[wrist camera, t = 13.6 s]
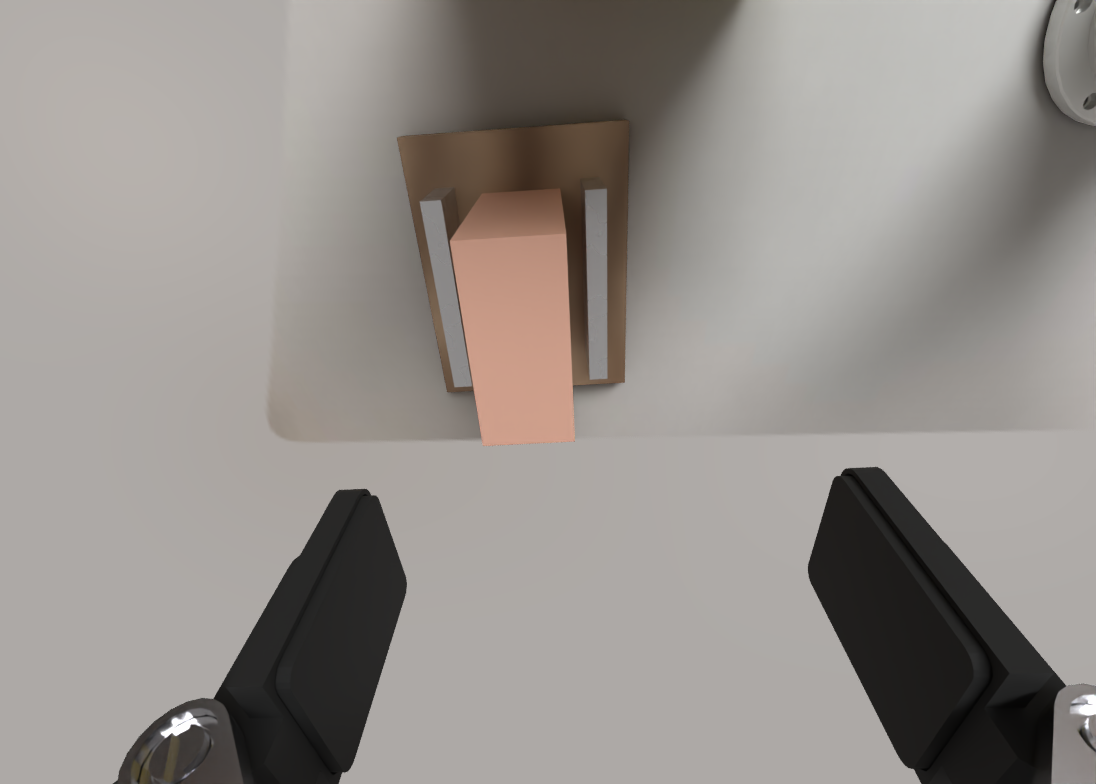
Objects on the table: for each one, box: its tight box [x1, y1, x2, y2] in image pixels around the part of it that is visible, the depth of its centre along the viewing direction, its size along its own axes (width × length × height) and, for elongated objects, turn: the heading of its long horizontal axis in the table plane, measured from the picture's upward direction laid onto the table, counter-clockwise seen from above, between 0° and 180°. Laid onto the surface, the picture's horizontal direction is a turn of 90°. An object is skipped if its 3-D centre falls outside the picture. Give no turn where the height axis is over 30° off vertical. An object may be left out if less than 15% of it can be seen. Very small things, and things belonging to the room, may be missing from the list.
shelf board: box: [397, 120, 629, 392], centre depth 35 cm, size 14×18×2 cm
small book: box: [450, 188, 575, 446], centre depth 29 cm, size 5×11×12 cm, turn 3°
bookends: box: [420, 177, 607, 387], centre depth 32 cm, size 10×12×4 cm
